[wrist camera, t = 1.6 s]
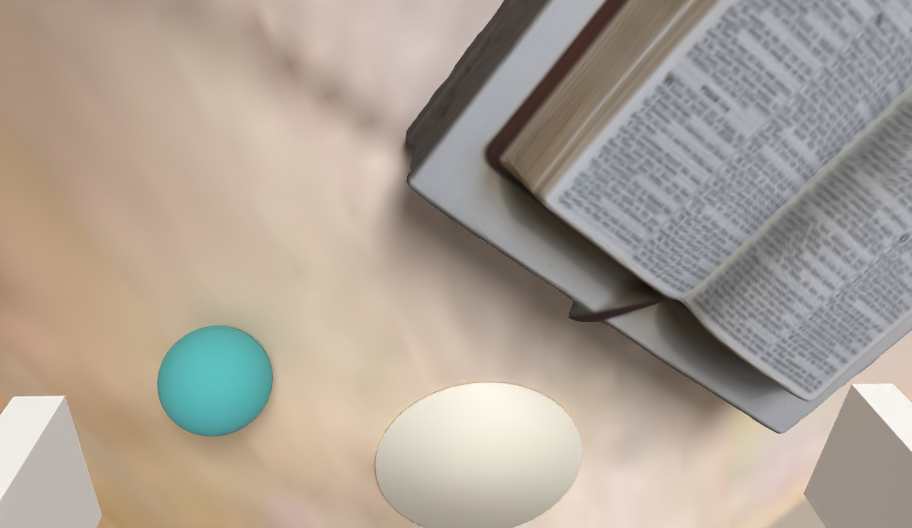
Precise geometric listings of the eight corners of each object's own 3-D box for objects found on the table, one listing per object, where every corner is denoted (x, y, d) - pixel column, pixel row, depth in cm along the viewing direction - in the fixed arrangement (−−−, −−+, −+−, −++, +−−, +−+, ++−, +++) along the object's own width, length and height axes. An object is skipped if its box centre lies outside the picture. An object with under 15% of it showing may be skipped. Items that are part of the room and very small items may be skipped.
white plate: (336, 488, 43) (335, 491, 43) (454, 347, 38) (454, 349, 38) (499, 554, 47) (499, 557, 47) (623, 436, 43) (624, 438, 42)
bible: (662, 401, 42) (730, 536, 34) (345, 78, 31) (327, 157, 22) (1034, 158, 36) (1236, 249, 27) (807, -366, 24) (1033, -495, 16)
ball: (158, 360, 37) (123, 432, 32) (202, 288, 35) (172, 353, 30) (250, 400, 39) (231, 474, 34) (298, 334, 37) (284, 402, 32)
